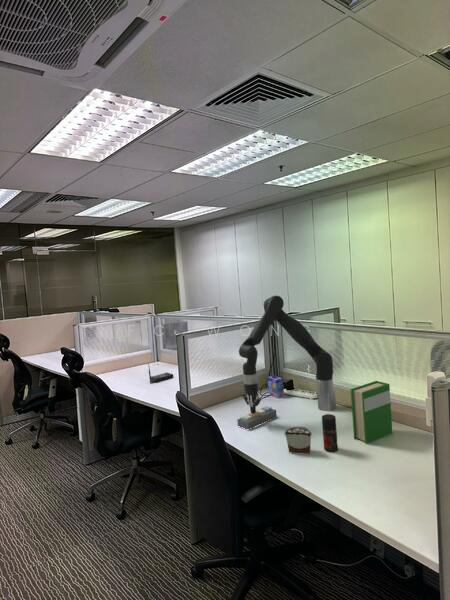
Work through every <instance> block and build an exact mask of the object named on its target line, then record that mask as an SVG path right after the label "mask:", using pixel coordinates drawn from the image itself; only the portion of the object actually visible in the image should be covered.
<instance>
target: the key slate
mask: <svg viewBox="0 0 450 600" xmlns="http://www.w3.org/2000/svg"><path fill="white" fill-rule="evenodd" d="M260 409H262V410H265V412H267V413H268V412H271V411H272V409H273V408H272V407H271V406H267V405H266V406H265V405H264V406H263V407H262V408H260Z"/></svg>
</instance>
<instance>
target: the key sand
mask: <svg viewBox="0 0 450 600" xmlns="http://www.w3.org/2000/svg"><path fill="white" fill-rule="evenodd" d="M256 413H259V415H261V416H262V415H264V414H265V410H262V409H261V408H258V409H256Z"/></svg>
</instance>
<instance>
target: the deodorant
mask: <svg viewBox="0 0 450 600" xmlns="http://www.w3.org/2000/svg"><path fill="white" fill-rule="evenodd" d="M321 424H322V437H323V438H322V439H323V450H324V452H327V453H336V452H338V450H339V447H338V435H337V434H338V433H337V420H336V415H334V414H329V413H327V414H324V415H322V416H321Z"/></svg>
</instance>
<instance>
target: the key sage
mask: <svg viewBox="0 0 450 600" xmlns="http://www.w3.org/2000/svg"><path fill="white" fill-rule="evenodd" d="M240 418H242V420H243V421H246V422H249V421H251V420H252V416H249V415H248V414H245V415H243V416H241V417H240Z"/></svg>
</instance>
